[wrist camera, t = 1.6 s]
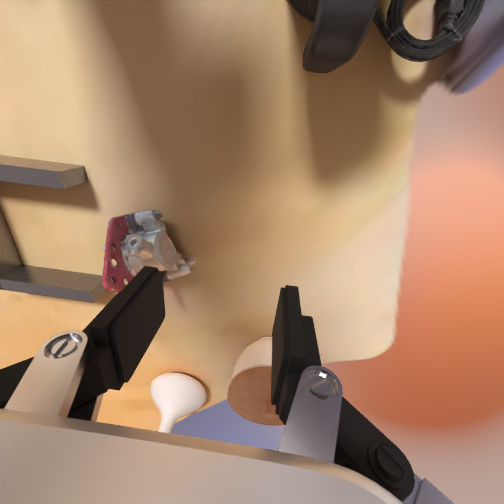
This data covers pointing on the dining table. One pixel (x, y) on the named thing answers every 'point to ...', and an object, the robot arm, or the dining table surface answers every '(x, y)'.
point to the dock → (4, 250)
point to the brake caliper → (140, 250)
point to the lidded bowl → (254, 384)
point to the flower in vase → (176, 397)
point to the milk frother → (358, 22)
